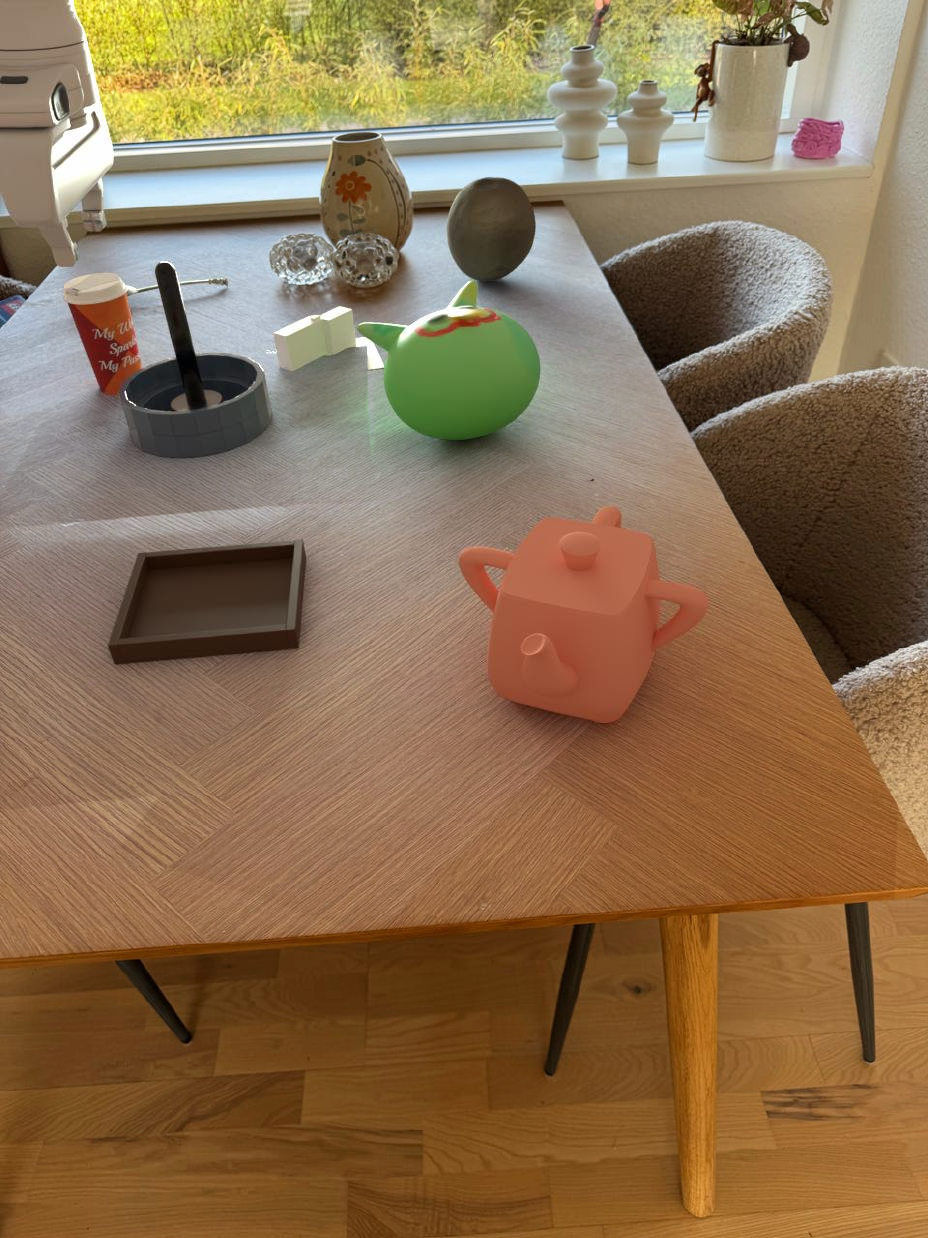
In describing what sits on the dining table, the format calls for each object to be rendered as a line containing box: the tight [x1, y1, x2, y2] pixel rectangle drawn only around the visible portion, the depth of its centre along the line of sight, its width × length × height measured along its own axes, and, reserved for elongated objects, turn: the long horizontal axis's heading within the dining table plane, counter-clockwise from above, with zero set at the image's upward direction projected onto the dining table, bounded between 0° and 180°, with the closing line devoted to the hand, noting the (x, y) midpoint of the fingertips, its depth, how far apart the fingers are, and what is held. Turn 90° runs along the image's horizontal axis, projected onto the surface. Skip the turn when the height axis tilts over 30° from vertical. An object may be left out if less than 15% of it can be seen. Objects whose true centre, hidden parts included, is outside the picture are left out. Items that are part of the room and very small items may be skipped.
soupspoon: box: [126, 275, 229, 297], centre depth 147 cm, size 22×3×7 cm
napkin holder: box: [265, 305, 385, 372], centre depth 124 cm, size 15×11×6 cm
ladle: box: [154, 261, 223, 412], centre depth 105 cm, size 6×6×19 cm
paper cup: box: [62, 272, 143, 396], centre depth 117 cm, size 8×8×14 cm
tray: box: [107, 539, 307, 665], centre depth 83 cm, size 16×14×2 cm
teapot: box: [457, 505, 710, 724], centre depth 70 cm, size 17×16×13 cm
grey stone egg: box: [446, 176, 537, 282], centre depth 142 cm, size 14×14×15 cm
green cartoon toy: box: [356, 280, 541, 441], centre depth 104 cm, size 18×17×15 cm
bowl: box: [118, 352, 273, 459], centre depth 110 cm, size 17×17×6 cm
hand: (83, 245), depth 88 cm, fingers open, 8 cm apart
